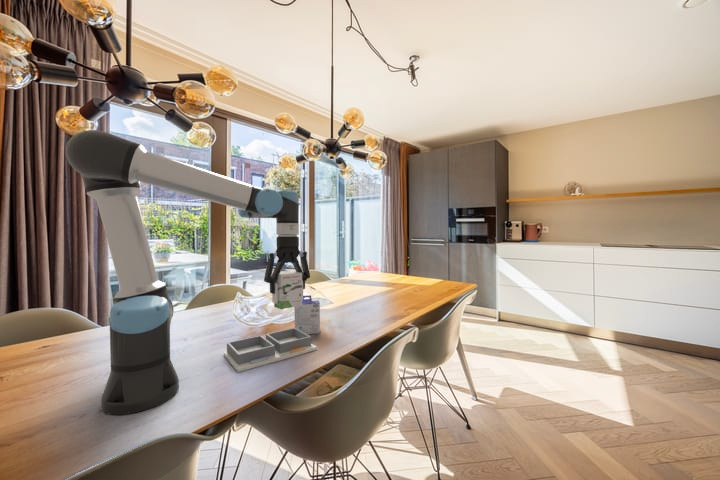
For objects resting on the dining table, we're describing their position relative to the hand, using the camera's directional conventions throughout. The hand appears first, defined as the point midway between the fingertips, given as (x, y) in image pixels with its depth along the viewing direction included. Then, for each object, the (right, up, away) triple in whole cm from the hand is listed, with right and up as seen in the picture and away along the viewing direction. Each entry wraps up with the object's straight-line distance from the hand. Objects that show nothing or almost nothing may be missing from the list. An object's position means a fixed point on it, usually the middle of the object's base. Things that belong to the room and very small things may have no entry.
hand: (288, 300), depth 104 cm
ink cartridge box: (+4, -16, +15) cm, 22 cm away
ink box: (0, -2, 0) cm, 2 cm away
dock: (-4, -16, -4) cm, 17 cm away
